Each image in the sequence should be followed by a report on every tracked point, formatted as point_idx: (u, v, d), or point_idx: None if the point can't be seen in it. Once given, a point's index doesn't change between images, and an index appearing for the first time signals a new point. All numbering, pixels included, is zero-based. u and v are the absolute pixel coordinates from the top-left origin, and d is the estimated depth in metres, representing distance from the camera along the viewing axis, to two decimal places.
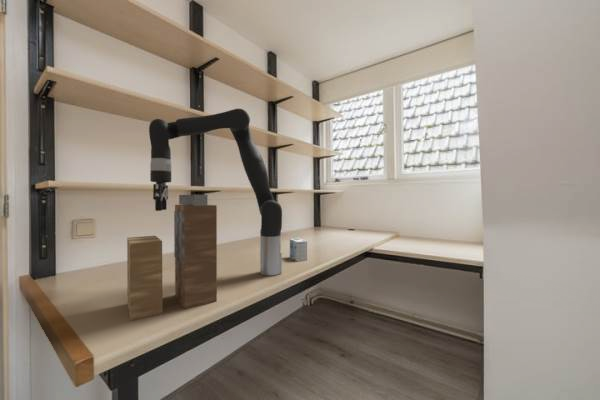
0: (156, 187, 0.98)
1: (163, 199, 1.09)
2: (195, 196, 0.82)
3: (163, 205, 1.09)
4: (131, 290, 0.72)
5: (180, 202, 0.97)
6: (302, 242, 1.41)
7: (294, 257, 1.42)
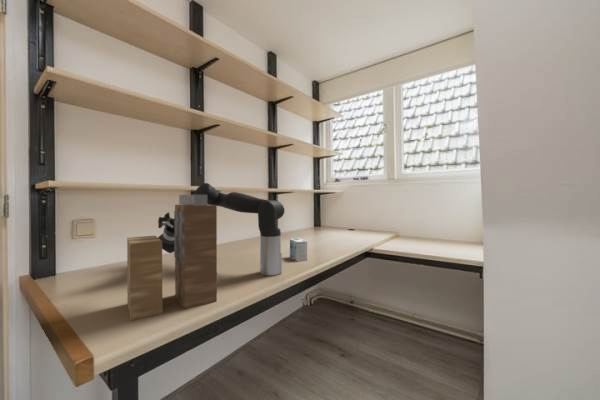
0: (158, 225, 1.09)
1: None
2: (195, 196, 0.82)
3: None
4: (131, 290, 0.72)
5: (180, 202, 0.97)
6: (302, 242, 1.41)
7: (294, 257, 1.42)
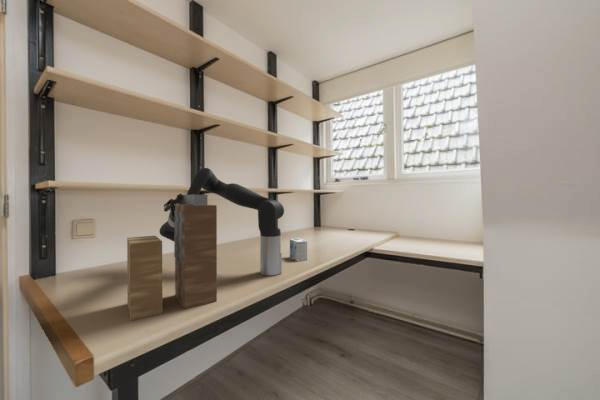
0: (165, 207, 0.99)
1: None
2: (195, 196, 0.82)
3: None
4: (131, 290, 0.72)
5: (180, 202, 0.97)
6: (302, 242, 1.41)
7: (294, 257, 1.42)
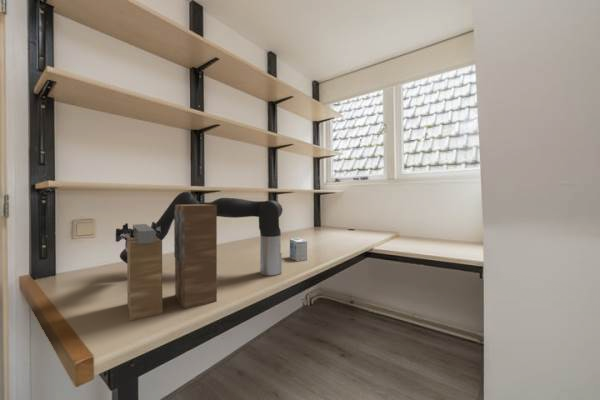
0: None
1: None
2: (139, 233, 0.73)
3: (151, 226, 0.92)
4: (131, 290, 0.72)
5: (133, 233, 0.88)
6: (302, 242, 1.41)
7: (294, 257, 1.42)
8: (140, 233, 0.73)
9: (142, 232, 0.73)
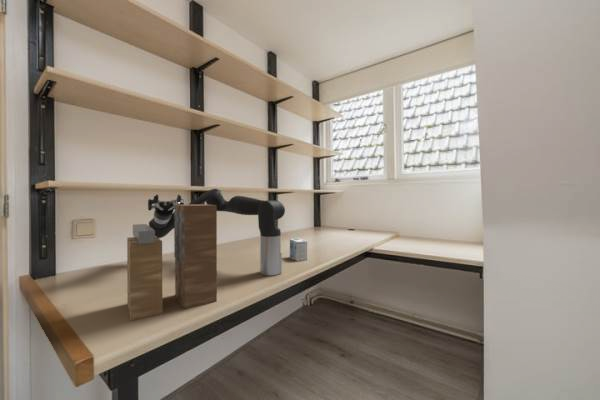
0: (148, 207, 1.14)
1: (177, 201, 1.17)
2: (139, 233, 0.73)
3: (177, 198, 1.15)
4: (131, 290, 0.72)
5: (133, 233, 0.88)
6: (302, 242, 1.41)
7: (294, 257, 1.42)
8: (140, 233, 0.73)
9: (142, 232, 0.73)
